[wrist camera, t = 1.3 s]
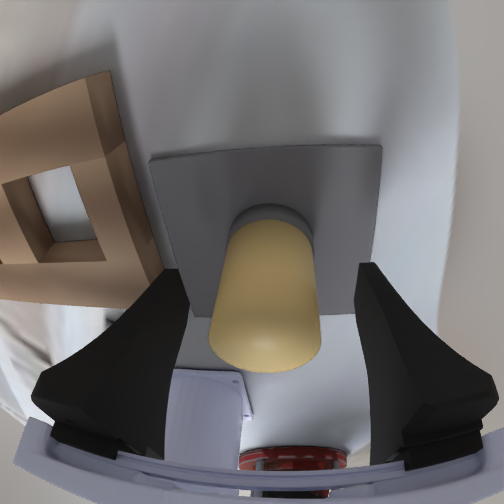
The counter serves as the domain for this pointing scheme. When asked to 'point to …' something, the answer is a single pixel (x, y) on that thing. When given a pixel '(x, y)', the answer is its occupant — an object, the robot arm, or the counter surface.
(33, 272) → the socket board
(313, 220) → the mat
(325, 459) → the hourglass
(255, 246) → the yellow peg
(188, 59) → the counter surface
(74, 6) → the counter surface
